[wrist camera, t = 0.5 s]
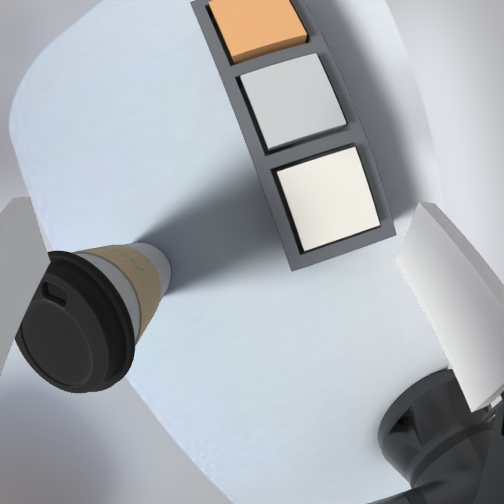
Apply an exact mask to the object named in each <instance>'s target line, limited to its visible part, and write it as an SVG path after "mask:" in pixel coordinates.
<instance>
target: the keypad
mask: <svg viewBox="0 0 504 504" xmlns="http://www.w3.org/2000/svg"><path fill="white" fill-rule="evenodd" d="M210 1H213V0H195V1H192V2H190V3H191V6H192V8H193V10H194V13H195V15H196V18H197V20H198V22H199V25H200V27H201V30H202V32H203V35H204V37H205V40H206V42H207V44H208V47H209V49H210V52H211V54H212V57H213V59H214V62H215V64H216V67H217V69H218V72H219V74H220V77H221V80H222V82H223V85H224V87H225V90H226V92H227V95H228V97H229V100H230V103H231V105H232V108H233V110H234V113H235V116H236V118H237V121H238V124H239V126H240V129H241V131H242V134H243V137H244V139H245V142H246V145H247V147H248V150H249V153H250V156H251V158H252V161H253V164H254V166H255V169H256V172H257V175H258V177H259V180H260V183H261V186H262V188H263V191H264V194H265V197H266V200H267V202H268V205H269V208H270V211H271V214H272V216H273V219H274V222H275V225H276V228H277V231H278V233H279V236H280V239H281V242H282V245H283V248H284V251H285V254H286V257H287V259H288V262H289V265H290V268H291V271H295V270H298V269H301V268H304V267H307V266H310V265H313V264H316V263H319V262H322V261H325V260H328V259H331V258H333V257H336V256H339V255H342V254H345V253H348V252H351V251H354V250H356V249H359V248H362V247H365V246H368V245H371V244H373V243H376V242H379V241H382V240H384V239H387V238H390V237H393V236H396V231H395V227H394V223H393V220H392V216H391V212H390V209H389V205H388V202H387V198H386V195H385V192H384V188H383V185H382V182H381V179H380V176H379V172H378V169H377V166H376V163H375V160H374V157H373V154H372V152H371V149H370V146H369V143H368V140H367V138H366V135H365V132H364V129H363V127H362V124H361V122H360V119H359V116H358V114H357V111H356V109H355V106H354V104H353V101H352V99H351V97H350V94H349V92H348V90H347V87H346V85H345V83H344V80H343V78H342V76H341V74H340V71H339V69H338V67H337V65H336V63H335V61H334V58H333V56H332V54H331V52H330V50H329V48H328V46H327V44H326V42H325V40H324V38H323V36H322V34H321V32H320V30H319V28H318V26H317V24H316V23H315V21H314V19H313V17H312V15H311V13H310V11H309V10H308V8H307V6H306V4H305V3H304V1H303V0H289V1H290V3H291V5H292V7H293V9H294V11H295V12H296V14H297V16H298V18H299V20H300V22H301V24H302V26H303V28H304V30H305V31H306V33H307V36H306V41H305V44H302V45H298V46H294V47H291V48H287V49H283V50H280V51H276V52H273V53H270V54H266V55H263V56H260V57H257V58H254V59H251V60H248V61H245V62H242V63H239V64H236V65H235V64H234V61H233V59H232V57H231V54H230V52H229V50H228V47H227V45H226V43H225V40H224V38H223V36H222V33H221V31H220V29H219V26H218V24H217V22H216V19H215V17H214V15H213V13H212V10H211V8H210V5H209V2H210ZM314 53H316V54H317V56H318V58H319V60H320V62H321V65H322V67H323V69H324V71H325V73H326V76H327V78H328V80H329V82H330V85H331V87H332V89H333V92H334V94H335V96H336V99H337V101H338V104H339V106H340V109H341V111H342V114H343V116H344V119H345V121H346V125H344V126H343V127H342V128H341V129H337V130H334V131H331V132H327V133H324V134H321V135H318V136H314V137H311V138H308V139H305V140H302V141H299V142H295V143H292V144H289V145H286V146H283V147H280V148H277V149H274V150H272V151H269V150H268V148H267V145H266V142H265V140H264V137H263V134H262V132H261V129H260V127H259V124H258V121H257V119H256V116H255V114H254V111H253V109H252V106H251V103H250V101H249V98H248V96H247V93H246V91H245V88H244V86H243V83H242V80H241V77H240V76H241V75H243V74H246V73H249V72H252V71H255V70H258V69H261V68H265V67H268V66H271V65H274V64H278V63H281V62H284V61H288V60H291V59H295V58H299V57H302V56H306V55H310V54H314ZM353 147H355V148H356V151H357V154H358V156H359V159H360V162H361V165H362V168H363V171H364V174H365V177H366V180H367V183H368V187H369V190H370V193H371V196H372V199H373V203H374V206H375V209H376V213H377V216H378V220H379V223H380V225H379V226H376V227H373V228H370V229H367V230H364V231H361V232H358V233H356V234H353V235H350V236H347V237H344V238H341V239H338V240H335V241H332V242H330V243H327V244H324V245H321V246H318V247H315V248H312V249H309V250H306V251H304V249H303V247H302V244H301V241H300V238H299V235H298V232H297V229H296V226H295V223H294V220H293V217H292V214H291V212H290V209H289V206H288V203H287V200H286V197H285V194H284V192H283V189H282V186H281V183H280V180H279V178H278V175H277V172H278V171H281V170H284V169H287V168H290V167H293V166H296V165H299V164H302V163H305V162H308V161H311V160H314V159H317V158H320V157H324V156H327V155H330V154H333V153H336V152H340V151H343V150H346V149H349V148H353Z"/></svg>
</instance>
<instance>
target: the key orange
mask: <svg viewBox="0 0 504 504" xmlns="http://www.w3.org/2000/svg"><path fill="white" fill-rule="evenodd" d="M209 5H210V8H211V10H212V13H213V15H214V17H215V19H216V22H217V24H218V26H219V29H220V31H221V33H222V36H223V38H224V40H225V43H226V45H227V47H228V50H229V52H230V54H231V57H232V59H233V61H234V64H235V65H236V64H239V63H242V62H245V61H248V60H251V59H254V58H257V57H260V56H263V55H266V54H270V53H273V52H276V51H280V50H283V49H287V48H291V47H294V46H298V45H302V44H305V41H306V36H307V33H306V31H305V30H304V28H303V26H302V24H301V22H300V20H299V18H298V16H297V14H296V12H295V11H294V9H293V7H292V5H291V3H290V1H289V0H213V1H210V2H209Z"/></svg>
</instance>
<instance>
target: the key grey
mask: <svg viewBox="0 0 504 504" xmlns="http://www.w3.org/2000/svg"><path fill="white" fill-rule="evenodd" d="M240 77H241V80H242V83H243V86H244V88H245V91H246V93H247V96H248V98H249V101H250V103H251V106H252V109H253V111H254V114H255V116H256V119H257V121H258V124H259V127H260V129H261V132H262V134H263V137H264V140H265V142H266V145H267V148H268V150H269V151H272V150H274V149H277V148H280V147H283V146H286V145H289V144H292V143H295V142H299V141H302V140H305V139H308V138H311V137H314V136H318V135H321V134H324V133H327V132H331V131H334V130H337V129H341V128H342V127H343V126H344V125H346V121H345V119H344V116H343V114H342V111H341V109H340V106H339V104H338V101H337V99H336V96H335V94H334V92H333V89H332V87H331V85H330V82H329V80H328V78H327V76H326V73H325V71H324V69H323V67H322V65H321V62H320V60H319V58H318V56H317V54H316V53H314V54H310V55H306V56H302V57H299V58H295V59H291V60H288V61H284V62H281V63H278V64H274V65H271V66H268V67H265V68H261V69H258V70H255V71H252V72H249V73H246V74H243V75H241V76H240Z"/></svg>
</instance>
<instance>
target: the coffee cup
mask: <svg viewBox="0 0 504 504" xmlns="http://www.w3.org/2000/svg"><path fill="white" fill-rule="evenodd" d="M47 253H48V256H49V259H50V264H49V266H48V268H47V270H46V271H45V273H44V275H43V277H42V279H41V281H40V283H39V285H38V287H37V289H36V291H35V293H34V295H33V297H32V300H31V302H30V304H29V306H28V308H27V310H26V312H25V315H24V317H23V319H22V321H21V324H20V326H19V328H18V331H17V333H16V336H15V341H16V343H17V345H18V347H19V349H20V351H21V353H22V355H23V356H24V358H25V359H26V361H27V362H28V363H29V364H30V366H31V367H32V368H33V369H34V370H35V371H36V372H37V373H38V374H39V375H40V376H41V377H42V378H43V379H45V380H46V381H47V382H49V383H50V384H52V385H53V386H55V387H57V388H59V389H61V390H64V391H67V392H71V393H87V392H97V391H102V390H105V389H107V388H110V387H111V386H113V385H114V384H115V383H117V382H118V381H120V380H121V379H122V378H123V377H124V376H125V375H126V374H127V372H128V371H129V369H130V367H131V364H132V362H133V358H134V353H135V345H136V344H137V342H138V341H139V339H140V337H141V336H142V334H143V332H144V331H145V329H146V327H147V326H148V324H149V322H150V321H151V319H152V317H153V316H154V314H155V312H156V310H157V308H158V305H159V302H160V301H161V299H162V297H163V296H164V294H165V293H166V291H167V289H168V287H169V284H170V280H171V267H170V263H169V261H168V259H167V257H166V255H165V254H164V253H163V252H162V251H161V250H160V249H159V248H157V247H155V246H153V245H151V244H148V243H131V244H125V245H109V246H104V247H98V248H93V249H87V250H82V251H76V252H72V253H70V252H66V251H51V252H47Z"/></svg>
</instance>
